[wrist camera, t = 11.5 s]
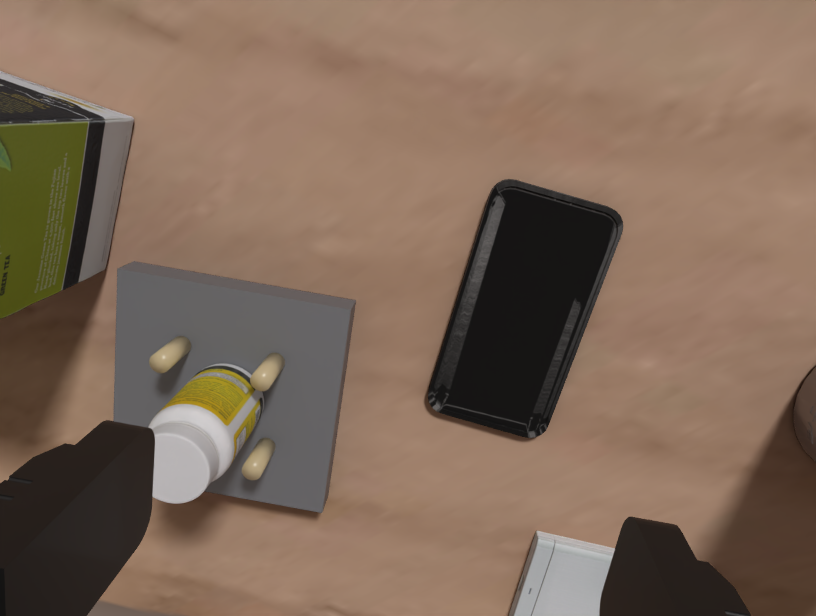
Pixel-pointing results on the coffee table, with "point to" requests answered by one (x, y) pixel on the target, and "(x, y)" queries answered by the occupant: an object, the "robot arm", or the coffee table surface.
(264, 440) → the standoff chassis
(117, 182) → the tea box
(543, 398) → the phone
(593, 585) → the hard drive
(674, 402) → the coffee table surface
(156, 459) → the supplement bottle
